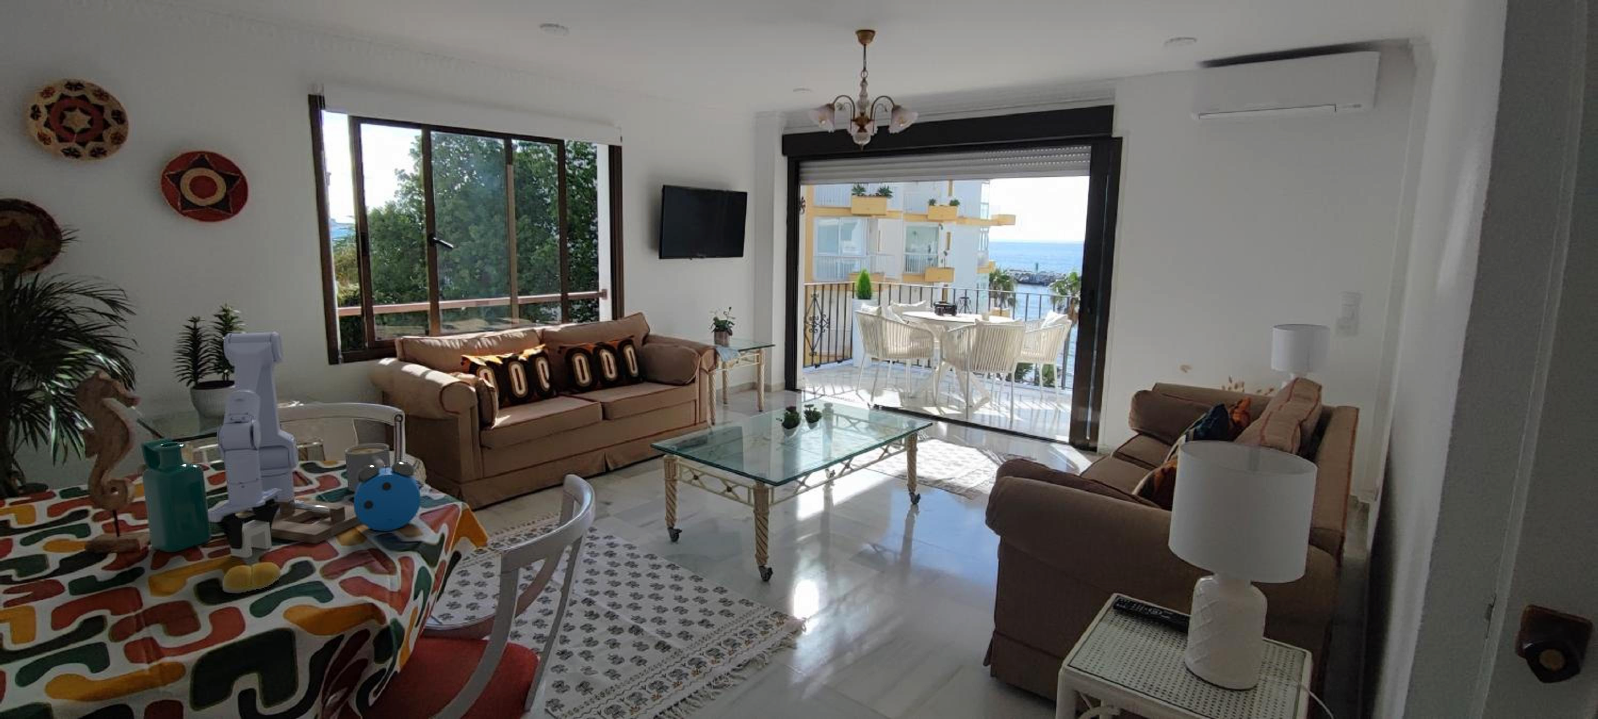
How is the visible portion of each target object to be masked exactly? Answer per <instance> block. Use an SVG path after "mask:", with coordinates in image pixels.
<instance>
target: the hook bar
mask: <svg viewBox="0 0 1598 719" xmlns="http://www.w3.org/2000/svg"><path fill="white" fill-rule="evenodd" d="M288 508H292V509H299V510H306V511H313V512H320V513H328V514H330V508H331V507H324V506H317V505H309V504H302V503H295V502H290V503H289V504H288Z"/></svg>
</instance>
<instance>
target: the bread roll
mask: <svg viewBox="0 0 1598 719" xmlns="http://www.w3.org/2000/svg"><path fill="white" fill-rule="evenodd" d="M281 575H282V574H281V569H280V567H279V566H278V565H277V564H276V563H273V562H271V561H270V562H269V561H268V562H267V561H266V562H259V563H258V562H257V563H255V564H252V565H251V566H250V565H244V564H243V565H242V564H241V565H236V566H234V567H231V568H230V569H229V570H227V572H226V573H225V575H223V576H224V577H223V580H222V591H223V592H225V593H228V594H241V593H242V592H243V593H247V591H248V592H251V591H257V590H256V589H259V590H262V588H264V587H267V586H268V587H270V586H269V585H271V584H272V585H274V584H275V583H276V582H277V580H278V581H279V580H280V579H279V578H281ZM275 581H276V582H275ZM274 582H275V583H274ZM273 583H274V584H273ZM272 585H271V586H272ZM268 587H267V588H268ZM264 589H265V588H264Z"/></svg>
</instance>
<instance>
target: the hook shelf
mask: <svg viewBox="0 0 1598 719" xmlns="http://www.w3.org/2000/svg"><path fill="white" fill-rule="evenodd" d="M290 502H294V499H285V500H282V501H279V503H280V513H277V514H275V517H274V519H273V523H272V527H271V531H270V535H271V538H276V539H282V540H283V539H284V540H291V541H297V542H302V543H303V542H304V543H308V542H309V543H310V544H315V543H316V544H318V543H320V542H323V541H325V540H327V539H329V538H331V537H333V536H335V535H337V534H340V533H342V532H344V531H346V530H348V529H350V528H353V527H355V526H358V525H359V524H362V523H361V522H360V520H359V519H358V518H357V516H356V514H355V511H354V505H351V504H350V505H348V504H341V503H334V502H329V501H328V502H327V501H320V500H313V499H310V500H308V501H304V503H303V504H309V505H317V506H324V507H331V508H330V514H328V513H320V512H313V511H306V510H299V509H292V508H288V504H289V503H290ZM314 517H315V518H323V520H321V521H318V522H316V523H313V524H307V523H302V522H305V521H307V520H309V519H312V518H314ZM326 538H327V539H326ZM309 543H308V544H309Z"/></svg>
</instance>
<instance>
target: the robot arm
mask: <svg viewBox="0 0 1598 719" xmlns="http://www.w3.org/2000/svg"><path fill="white" fill-rule="evenodd" d="M223 352H224V356H225V358H226V359H227V360H228V363H229V364H230V365H231V366H232V367H234V391H232V392H231V393H229V394H228V396H227V397H226V403H225V409H224V410H225V411H224V417H223V423H222V424H223V425H221V426H219V427H218V428H217V433H216V440H217V447H218V450H219V452H220V457H221V458H220V459H221V461H222V462H224V470H225V481H226V490H227V495H228V496H227V498H228V499H227V500H228V501H227V502H225V503H224V504H221V505H220V506H218V507H216V508H214V509H212V510H210V511H209V510H208V518H209V522H213V523H214V524H216V525H217V527H218V528H219V529H220V530H221V531H222V533H223V534H224V536H225V537H226V540H227V541H228V544H229V547H230V546H231V548H232V549H241V548H242V526H243V524H244V521H245V518H244V517H240V516H238V515H237V514H239V513H241V512H244V511H250V512H253V514H254V518H255V520H257V521H264V522H269V526H270V531H271V527H272V523H273V519H274V517H275V514H277V513H280V503H279V501H282V500H285V499H294V502H295V503H302V504H303V503H305V501H304V500H299V499H295V490H294V488H295V487H294V480H293V479H294V478H293V470H294V469H296V468H297V466H298V464H299V448H298V445H297V442H296V437H295V436H294V435H293V434H291V433H289V432H286V431H284V430H282V429H281V425H280V424H281V423H280V416H279V415H280V414H279V408H278V398H277V391H276V388H277V387H276V380H275V366H276V365H279V364H281V363H282V364H283V360H284V353H283V344H282V339H281V335H280V334H279V333H278V332H277V331H271V332H249V333H247V332H246V333H245V332H243V333H232V332H231V333H230V332H229V333H227V334H226V335H225V336H224V339H223ZM231 548H230V549H231Z"/></svg>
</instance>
